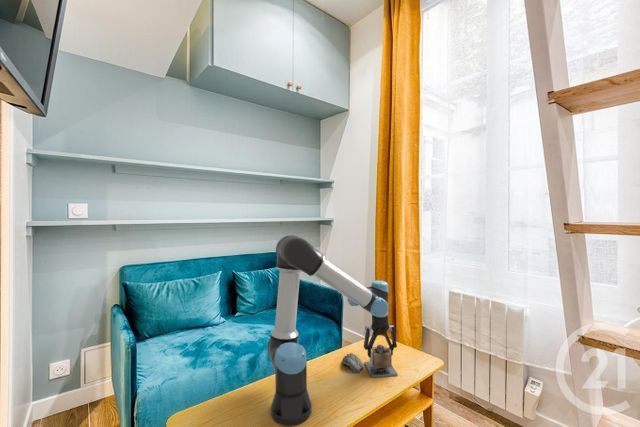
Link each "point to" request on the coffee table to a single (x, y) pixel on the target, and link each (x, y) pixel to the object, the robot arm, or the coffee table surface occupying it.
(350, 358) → the fossilized seashell
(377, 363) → the collar
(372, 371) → the knob on metal plate
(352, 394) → the coffee table surface
